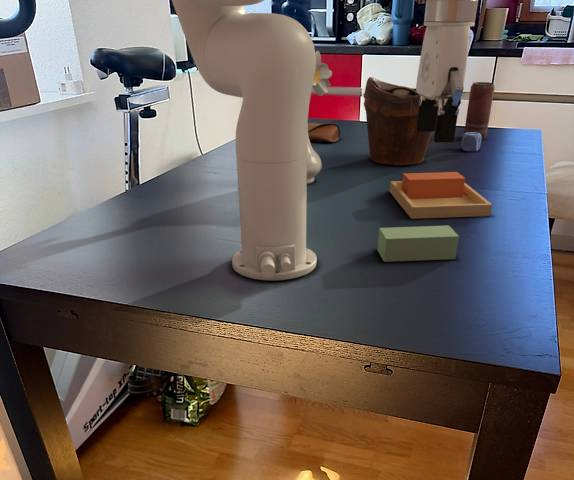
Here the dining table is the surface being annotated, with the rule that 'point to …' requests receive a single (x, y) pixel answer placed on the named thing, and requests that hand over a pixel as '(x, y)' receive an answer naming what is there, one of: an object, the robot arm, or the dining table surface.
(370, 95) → the wooden bucket
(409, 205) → the wooden tray
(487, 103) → the can
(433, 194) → the pad terracotta
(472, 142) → the decorative dice
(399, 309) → the dining table surface
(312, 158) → the flower vase
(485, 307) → the dining table surface
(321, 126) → the sunglasses case
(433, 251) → the pad sage
